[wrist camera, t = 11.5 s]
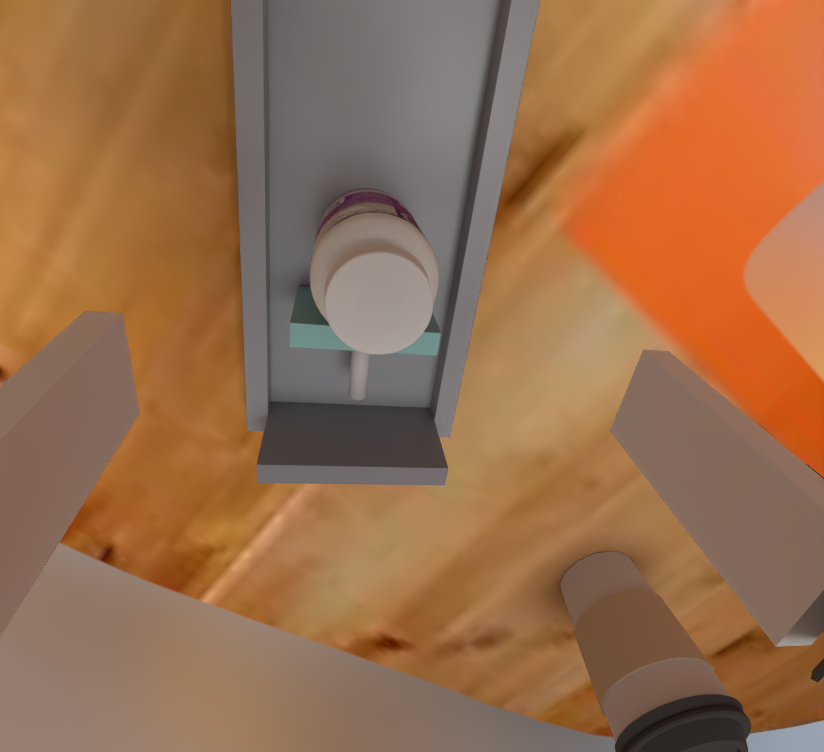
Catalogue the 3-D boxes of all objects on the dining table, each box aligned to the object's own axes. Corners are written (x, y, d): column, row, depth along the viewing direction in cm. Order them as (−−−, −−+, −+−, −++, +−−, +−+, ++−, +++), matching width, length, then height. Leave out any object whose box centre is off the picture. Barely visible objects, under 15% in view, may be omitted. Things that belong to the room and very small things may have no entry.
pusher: (298, 285, 26) (289, 322, 22) (425, 296, 28) (441, 333, 23) (296, 370, 29) (288, 418, 25) (413, 376, 30) (425, 423, 26)
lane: (238, -91, 20) (194, -172, 14) (528, -31, 22) (599, -78, 16) (253, 407, 31) (232, 482, 25) (442, 415, 33) (465, 485, 27)
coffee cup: (529, 582, 44) (608, 787, 31) (614, 526, 41) (739, 722, 28) (581, 621, 48) (670, 817, 35) (661, 572, 45) (789, 762, 32)
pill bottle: (426, 276, 27) (463, 355, 19) (333, 298, 27) (330, 387, 19) (406, 174, 25) (439, 215, 16) (302, 200, 25) (283, 253, 16)
